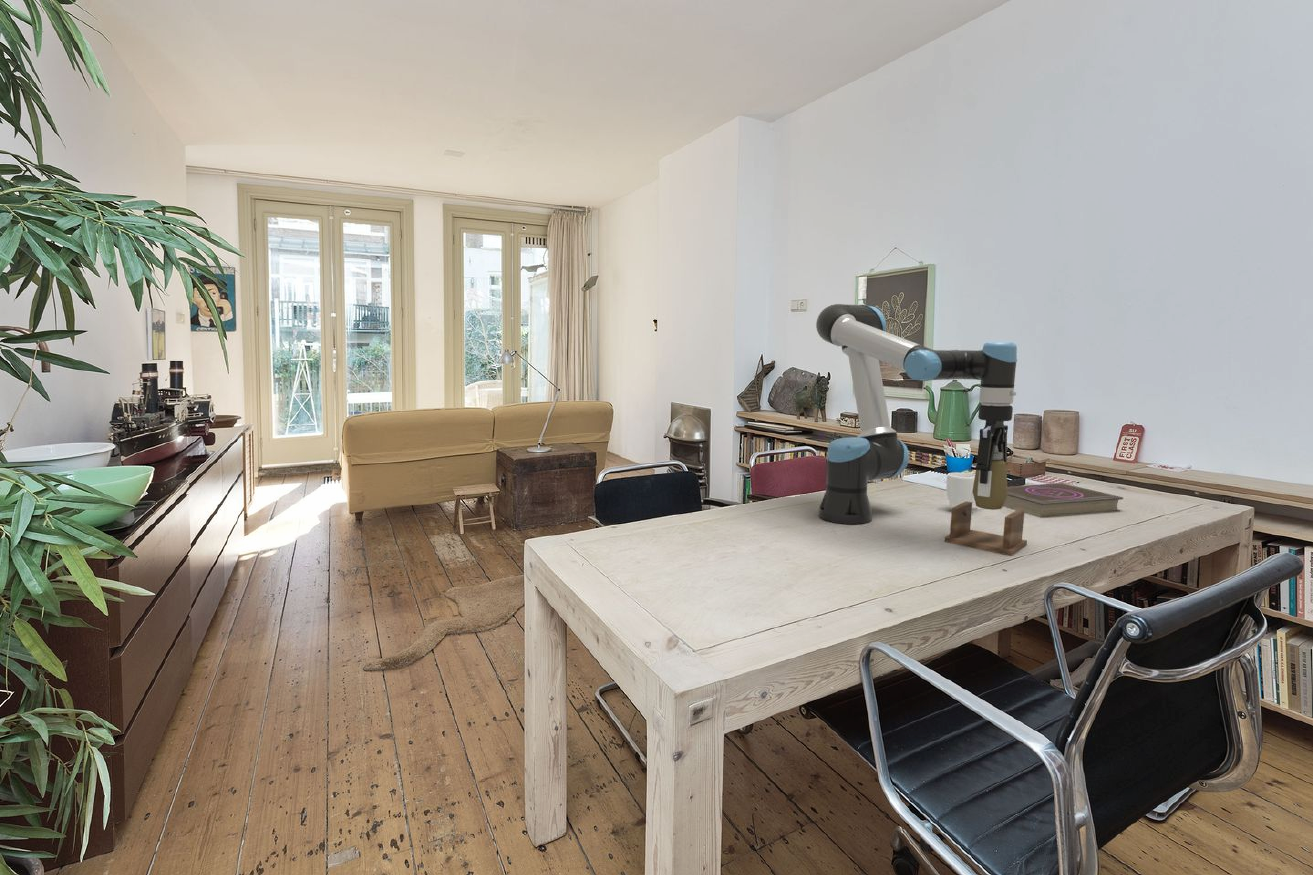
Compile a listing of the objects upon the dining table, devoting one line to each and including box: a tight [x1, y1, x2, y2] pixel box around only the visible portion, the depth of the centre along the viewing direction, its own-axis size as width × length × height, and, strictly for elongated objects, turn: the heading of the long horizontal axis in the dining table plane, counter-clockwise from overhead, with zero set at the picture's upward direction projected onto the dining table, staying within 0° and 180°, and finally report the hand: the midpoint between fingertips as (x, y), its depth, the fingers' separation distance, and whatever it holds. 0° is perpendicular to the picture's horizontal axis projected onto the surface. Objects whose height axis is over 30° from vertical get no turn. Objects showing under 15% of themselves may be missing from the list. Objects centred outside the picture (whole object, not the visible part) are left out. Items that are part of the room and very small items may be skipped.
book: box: [1003, 482, 1124, 519], centre depth 204 cm, size 30×22×5 cm
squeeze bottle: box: [972, 446, 1008, 511], centre depth 162 cm, size 8×8×18 cm
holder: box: [944, 501, 1028, 556], centre depth 164 cm, size 16×12×9 cm
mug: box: [946, 472, 975, 510], centre depth 196 cm, size 12×8×11 cm
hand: (989, 493), depth 162 cm, fingers closed on squeeze bottle, 8 cm apart
